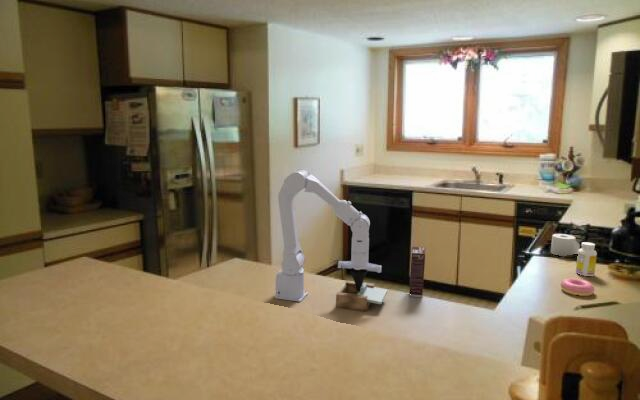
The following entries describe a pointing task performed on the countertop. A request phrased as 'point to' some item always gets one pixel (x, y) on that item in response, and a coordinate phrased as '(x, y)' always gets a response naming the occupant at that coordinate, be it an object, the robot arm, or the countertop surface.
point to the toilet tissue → (564, 245)
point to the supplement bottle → (586, 259)
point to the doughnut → (577, 287)
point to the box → (352, 297)
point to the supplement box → (417, 272)
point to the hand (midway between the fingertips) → (358, 290)
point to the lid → (373, 293)
